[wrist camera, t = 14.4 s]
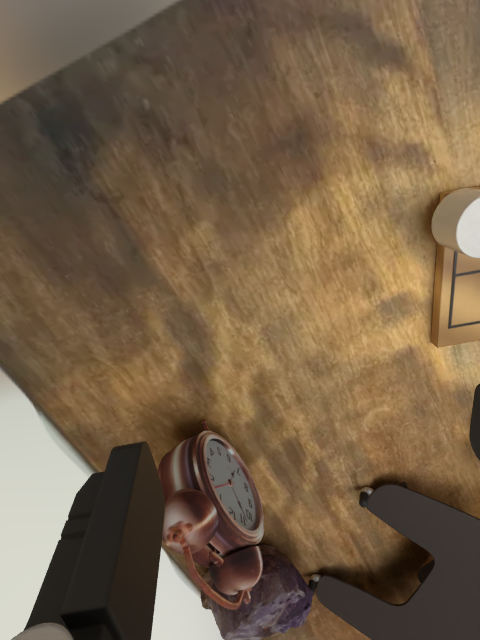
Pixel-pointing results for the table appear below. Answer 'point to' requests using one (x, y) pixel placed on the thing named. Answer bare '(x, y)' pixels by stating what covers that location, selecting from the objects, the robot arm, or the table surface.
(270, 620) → the rock
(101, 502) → the robot arm
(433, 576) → the laptop tray
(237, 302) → the table surface
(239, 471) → the alarm clock
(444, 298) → the board
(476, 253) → the stone
